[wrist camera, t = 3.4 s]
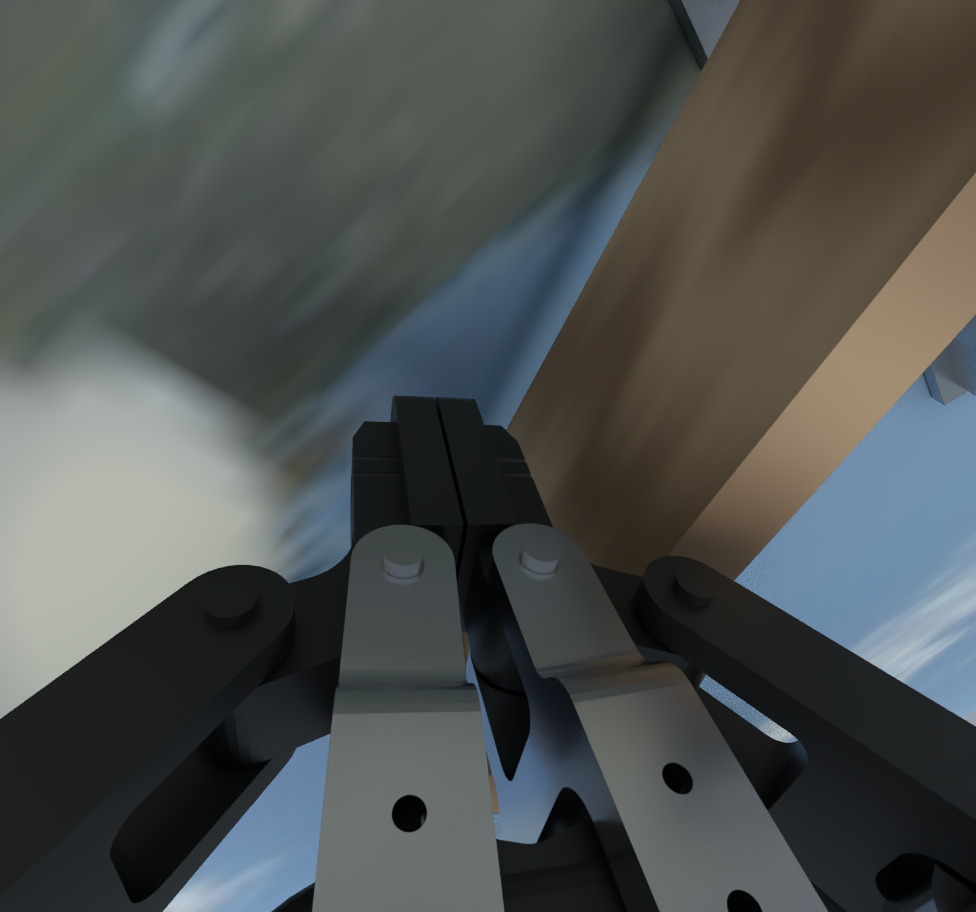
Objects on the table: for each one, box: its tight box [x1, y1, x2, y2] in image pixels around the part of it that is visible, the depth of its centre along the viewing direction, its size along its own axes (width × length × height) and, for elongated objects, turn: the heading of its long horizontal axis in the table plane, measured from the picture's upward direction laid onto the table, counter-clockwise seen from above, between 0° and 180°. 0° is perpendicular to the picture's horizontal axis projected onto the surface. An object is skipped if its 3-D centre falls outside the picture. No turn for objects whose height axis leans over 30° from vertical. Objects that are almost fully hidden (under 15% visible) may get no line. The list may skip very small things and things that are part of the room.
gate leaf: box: [462, 0, 976, 814], centre depth 14 cm, size 16×2×10 cm, turn 155°
